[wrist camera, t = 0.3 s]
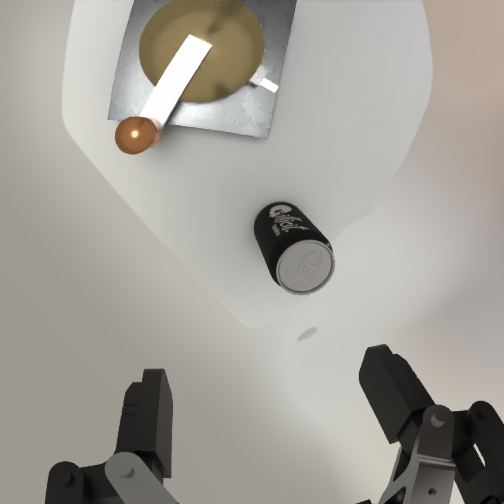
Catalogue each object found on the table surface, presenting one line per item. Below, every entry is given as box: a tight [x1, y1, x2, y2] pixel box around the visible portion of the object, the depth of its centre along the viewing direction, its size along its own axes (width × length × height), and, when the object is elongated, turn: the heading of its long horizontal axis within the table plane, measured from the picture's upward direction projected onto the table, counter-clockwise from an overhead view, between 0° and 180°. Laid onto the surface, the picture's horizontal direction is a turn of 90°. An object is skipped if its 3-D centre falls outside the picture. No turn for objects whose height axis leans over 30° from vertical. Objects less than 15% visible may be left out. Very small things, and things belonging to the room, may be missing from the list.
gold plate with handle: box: [115, 0, 269, 154], centre depth 22 cm, size 18×13×8 cm
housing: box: [108, 0, 297, 139], centre depth 27 cm, size 17×17×4 cm
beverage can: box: [254, 202, 335, 295], centre depth 34 cm, size 7×7×12 cm
